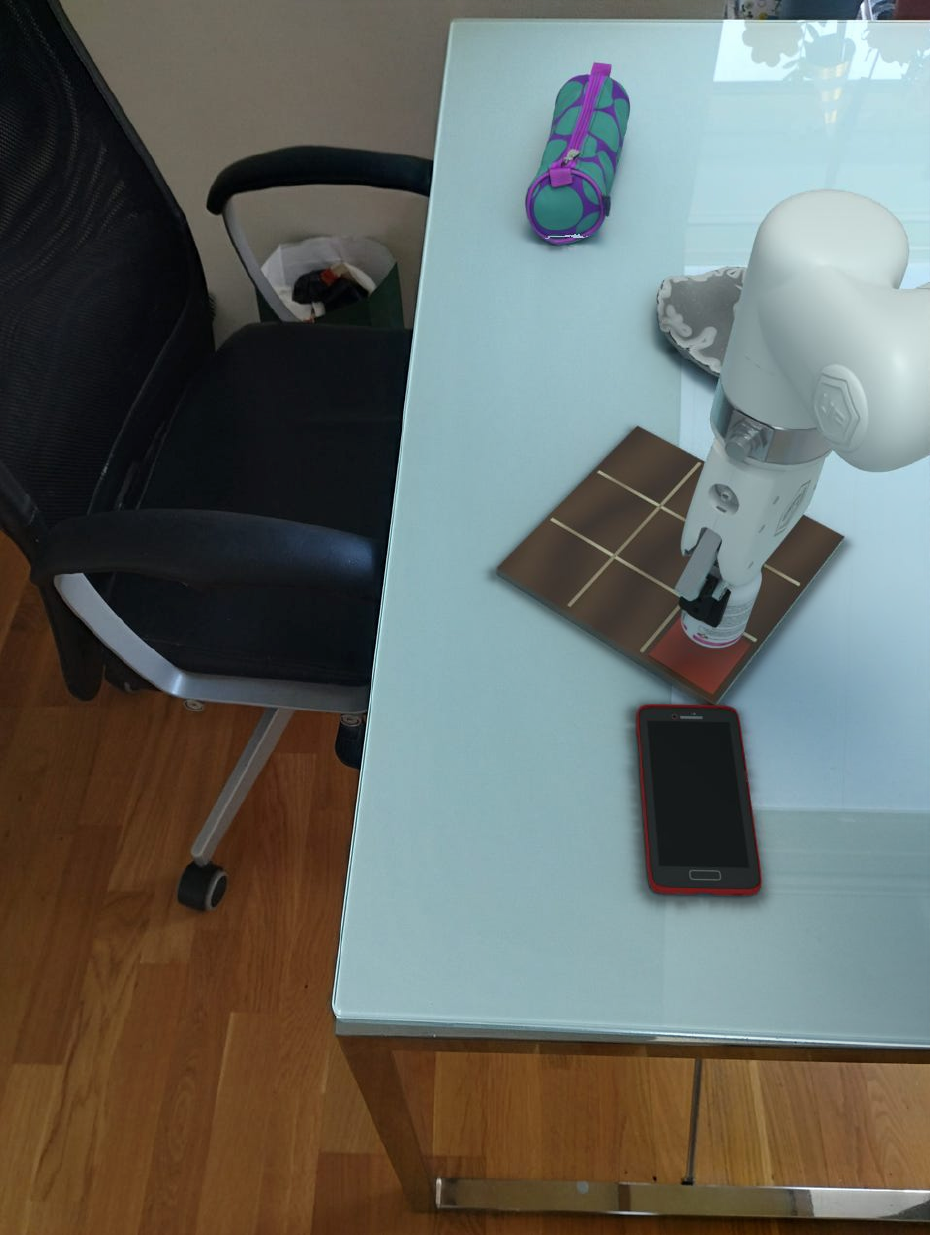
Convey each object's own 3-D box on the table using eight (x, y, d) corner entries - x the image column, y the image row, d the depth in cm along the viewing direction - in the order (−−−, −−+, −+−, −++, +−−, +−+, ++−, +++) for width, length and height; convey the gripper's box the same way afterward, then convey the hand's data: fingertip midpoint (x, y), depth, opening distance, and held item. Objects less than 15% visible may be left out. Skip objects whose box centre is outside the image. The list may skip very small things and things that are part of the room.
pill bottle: (757, 629, 79) (785, 558, 72) (711, 661, 77) (735, 591, 71) (712, 588, 81) (735, 516, 75) (666, 618, 80) (685, 546, 73)
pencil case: (604, 256, 112) (614, 173, 105) (522, 246, 114) (525, 164, 106) (627, 146, 124) (637, 65, 116) (552, 138, 125) (558, 57, 117)
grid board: (841, 543, 90) (845, 535, 89) (712, 711, 81) (715, 704, 80) (636, 432, 98) (637, 424, 97) (496, 574, 89) (496, 566, 88)
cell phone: (648, 895, 73) (650, 890, 72) (634, 709, 81) (635, 702, 80) (761, 898, 72) (764, 893, 72) (735, 710, 81) (738, 704, 80)
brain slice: (659, 405, 100) (664, 382, 97) (647, 289, 109) (651, 265, 107) (869, 409, 99) (879, 385, 97) (838, 292, 109) (847, 267, 106)
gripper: (762, 526, 56) (701, 698, 71) (904, 355, 64) (822, 544, 79) (644, 461, 59) (609, 640, 74) (793, 304, 66) (734, 496, 81)
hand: (719, 589), depth 76 cm, fingers closed on pill bottle, 4 cm apart
